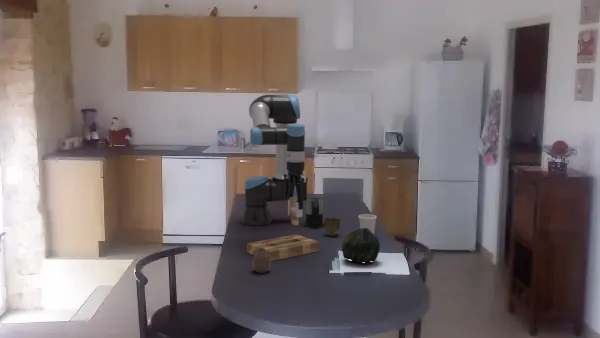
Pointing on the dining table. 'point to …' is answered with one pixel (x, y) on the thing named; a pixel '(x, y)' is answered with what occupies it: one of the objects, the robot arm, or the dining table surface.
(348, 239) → the squash
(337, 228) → the wire cup brush
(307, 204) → the milk frother
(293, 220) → the beech peg
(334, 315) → the dining table surface
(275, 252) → the oak board
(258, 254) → the vase
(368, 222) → the dixie cup
